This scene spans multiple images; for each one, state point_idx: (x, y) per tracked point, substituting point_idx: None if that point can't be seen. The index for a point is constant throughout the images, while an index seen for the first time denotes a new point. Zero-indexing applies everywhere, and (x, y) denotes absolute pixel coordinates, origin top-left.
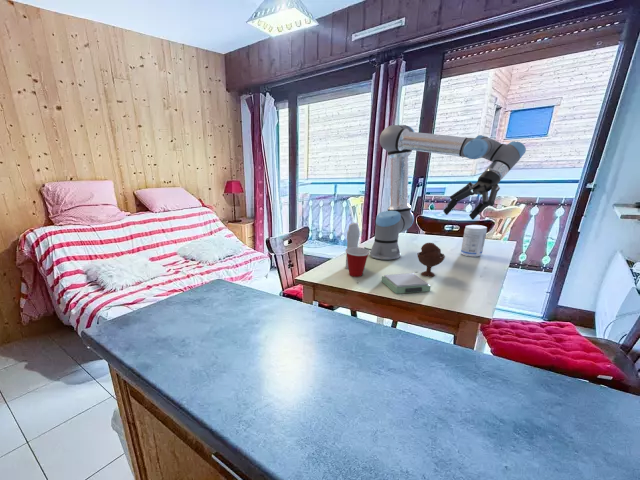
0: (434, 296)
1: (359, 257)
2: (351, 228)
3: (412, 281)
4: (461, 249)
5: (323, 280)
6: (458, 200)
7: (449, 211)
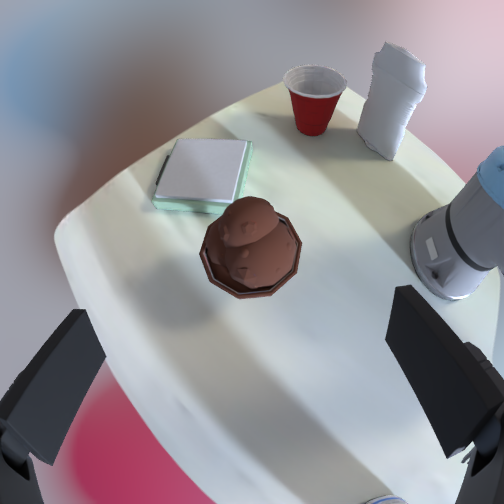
0: (133, 202)
1: (287, 81)
2: (384, 50)
3: (180, 171)
4: (400, 500)
5: None
6: (469, 479)
7: (401, 359)
